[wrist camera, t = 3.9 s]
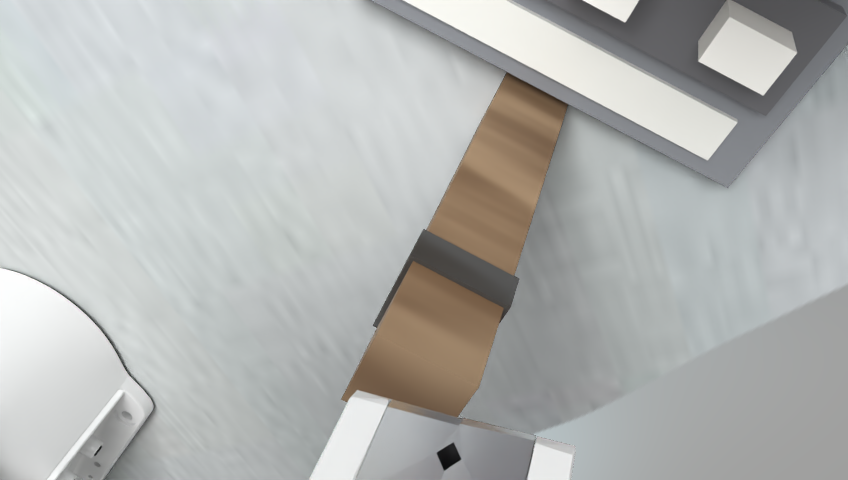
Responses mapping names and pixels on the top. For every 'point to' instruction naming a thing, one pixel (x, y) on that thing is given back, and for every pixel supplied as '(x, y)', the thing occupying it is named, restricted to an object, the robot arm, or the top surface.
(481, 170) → the post
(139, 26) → the top surface
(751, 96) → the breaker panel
